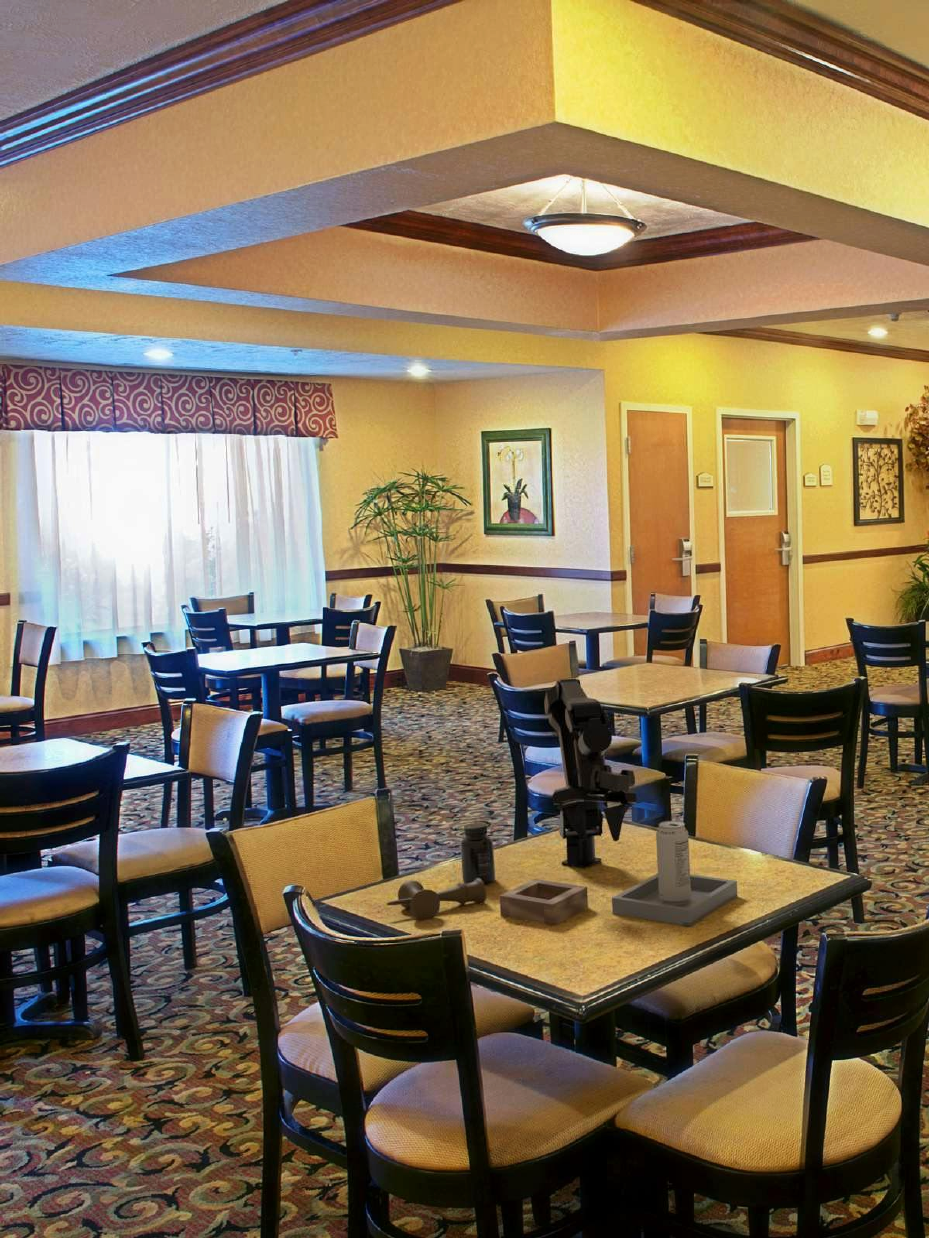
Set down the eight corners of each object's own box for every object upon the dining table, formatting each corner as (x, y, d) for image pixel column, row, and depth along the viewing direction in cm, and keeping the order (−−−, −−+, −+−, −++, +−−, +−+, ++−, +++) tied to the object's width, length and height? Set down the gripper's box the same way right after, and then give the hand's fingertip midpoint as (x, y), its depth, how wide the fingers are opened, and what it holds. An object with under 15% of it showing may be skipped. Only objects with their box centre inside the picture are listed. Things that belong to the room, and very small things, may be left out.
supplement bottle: (496, 876, 262) (493, 820, 261) (494, 886, 255) (491, 828, 254) (464, 877, 263) (461, 821, 262) (461, 887, 256) (457, 829, 255)
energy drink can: (671, 894, 241) (667, 818, 240) (697, 900, 237) (694, 822, 236) (652, 902, 237) (649, 825, 235) (679, 908, 232) (675, 829, 231)
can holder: (536, 898, 245) (535, 878, 245) (588, 907, 238) (587, 886, 238) (500, 915, 236) (499, 895, 235) (553, 925, 229) (552, 904, 228)
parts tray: (663, 884, 249) (662, 870, 249) (737, 896, 240) (736, 880, 239) (612, 913, 234) (611, 897, 233) (689, 926, 224) (688, 910, 224)
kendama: (493, 911, 241) (394, 925, 234) (475, 899, 250) (379, 913, 243) (492, 880, 241) (393, 894, 234) (473, 870, 250) (378, 882, 243)
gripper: (586, 751, 238) (596, 832, 233) (651, 757, 250) (662, 834, 245) (546, 763, 246) (555, 842, 241) (611, 768, 258) (621, 843, 253)
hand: (600, 840), depth 245 cm, fingers open, 9 cm apart
